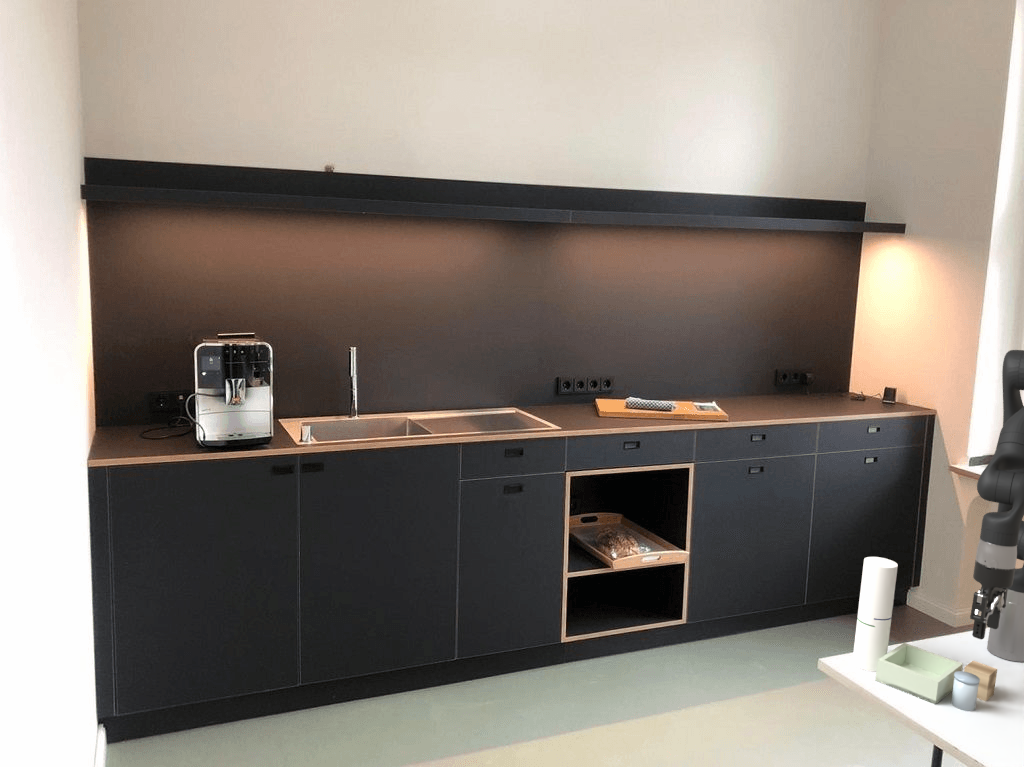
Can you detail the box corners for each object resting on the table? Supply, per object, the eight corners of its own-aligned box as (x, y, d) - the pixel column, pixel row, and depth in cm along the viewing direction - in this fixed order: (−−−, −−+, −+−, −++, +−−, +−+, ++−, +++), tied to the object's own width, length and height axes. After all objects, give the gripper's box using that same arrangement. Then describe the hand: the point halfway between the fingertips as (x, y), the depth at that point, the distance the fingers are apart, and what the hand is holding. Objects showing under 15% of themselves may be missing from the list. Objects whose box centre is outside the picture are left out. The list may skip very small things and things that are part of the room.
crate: (901, 662, 201) (904, 642, 200) (960, 684, 191) (962, 663, 191) (875, 680, 191) (877, 659, 190) (935, 704, 182) (938, 682, 181)
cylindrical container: (888, 673, 195) (901, 569, 191) (855, 669, 196) (867, 565, 192) (881, 659, 202) (893, 558, 198) (849, 655, 203) (861, 555, 199)
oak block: (969, 685, 191) (973, 660, 190) (993, 694, 188) (997, 668, 187) (961, 692, 188) (964, 666, 187) (985, 701, 184) (989, 675, 183)
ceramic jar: (955, 697, 185) (959, 669, 184) (979, 706, 182) (983, 677, 181) (946, 704, 182) (950, 675, 181) (970, 713, 179) (974, 684, 178)
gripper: (988, 550, 191) (978, 619, 193) (964, 563, 181) (954, 635, 184) (1025, 560, 185) (1015, 630, 188) (1003, 573, 176) (992, 647, 178)
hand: (985, 632), depth 186 cm, fingers open, 8 cm apart
